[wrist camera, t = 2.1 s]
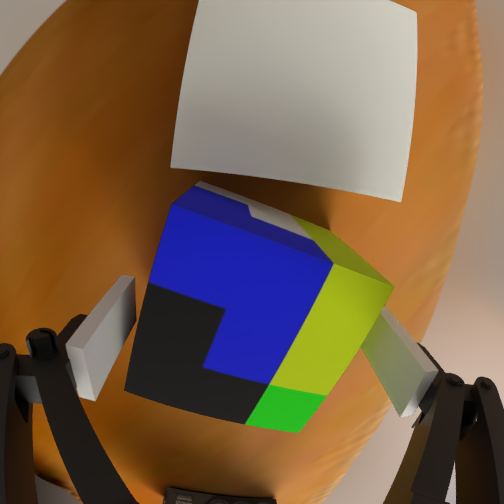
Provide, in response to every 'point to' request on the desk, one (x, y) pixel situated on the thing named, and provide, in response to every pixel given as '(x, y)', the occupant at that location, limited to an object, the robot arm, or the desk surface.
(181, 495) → the graphics card box
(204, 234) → the puzzle toy
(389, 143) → the plinth
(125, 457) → the desk surface
